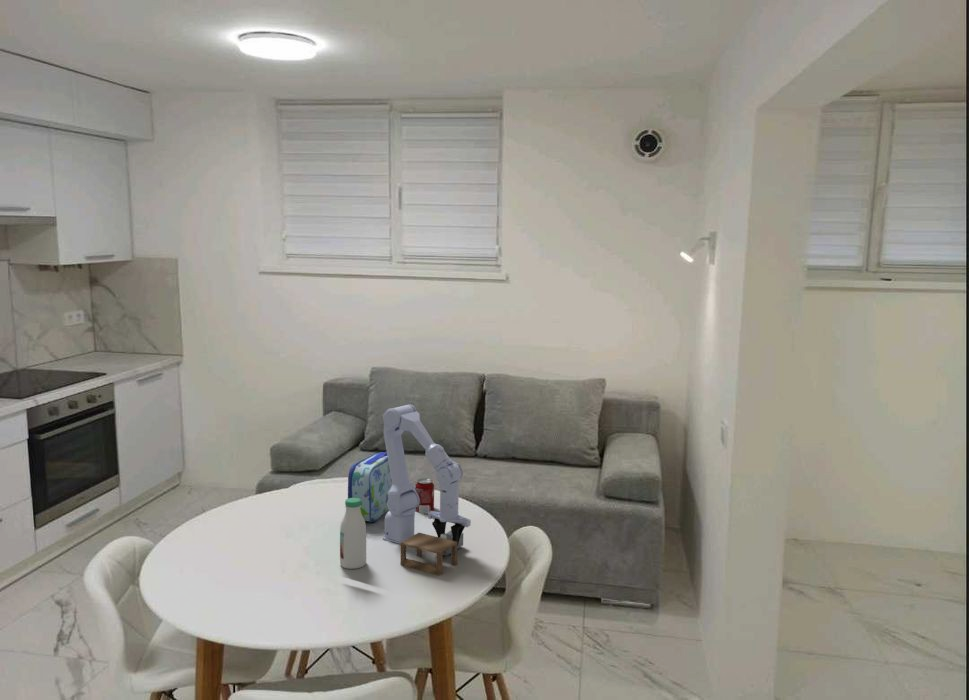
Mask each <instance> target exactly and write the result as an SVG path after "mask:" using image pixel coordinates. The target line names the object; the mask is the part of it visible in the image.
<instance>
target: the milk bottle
mask: <svg viewBox="0 0 969 700" xmlns="http://www.w3.org/2000/svg"><path fill="white" fill-rule="evenodd" d="M344 504H345V513H344V516H343V518H342V520H341V523H340V529H339V531H340V532H339V563H340V566H341V568H344V569H348V570H355V569H359V568H363V567H365V566H366V564H367V527H366V526H367V525H366V521H365V520H364V518H363V516H362V514H361V510H360V507H361V499H359V498H349V499H348V498H347V499H345V502H344Z"/></svg>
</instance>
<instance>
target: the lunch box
mask: <svg viewBox="0 0 969 700" xmlns="http://www.w3.org/2000/svg"><path fill="white" fill-rule="evenodd" d="M347 476H348V477H347V499H349V498H359V499H361V507H360V510H361V514H362V516H363V518H364V520H365V522H369V523H371V522H372V523H373V522H376V521H378V520H379V519H381V518H382V516H384V515H386V514H387V512H388V511H389V509H388V506H387V502H388V492H389V490H390V489H391V487H392V479H391V474H390V468H389V462H388V456H387V451H385V452H384V451H383V452H382V451H381V452H380V451H379V452H376V453H373V454H371V455H369V456H367V457H365V458H363V459H362V460H359V461H357V462H355V463H353V464H352V465H351V466H350V468H349V471H348V475H347Z"/></svg>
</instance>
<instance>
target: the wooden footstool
mask: <svg viewBox="0 0 969 700" xmlns="http://www.w3.org/2000/svg"><path fill="white" fill-rule="evenodd" d="M407 547H410V548H414V549H416V556H417V557H421V556H422V555H423V551H425V552H428V553H433V554H436V556H435V557H436V561H435V563H436V565H432V564H429V563H426V562H421V561H418V560H414V559H411V558H407ZM451 547H452V552H451V566H456V565H458V549H457V542H456V541H452V540H448V539H443V538H439V537H438V536H435V535H430V534H425V533H423V532H417V533H414V535H413V536H412V537H410V538H408V539H406V540H404V541H402V542H401V544H400V566H403V567H404V566H405V567H408V568H412V569H416V570H420V571H422V572H426V573H430V574H433V575H434V574H435V575H437V576H438V577H439V576H441V575H443V555H442V553H443V552H445V551H446V550H448V549H450V548H451Z"/></svg>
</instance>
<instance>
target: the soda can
mask: <svg viewBox="0 0 969 700" xmlns="http://www.w3.org/2000/svg"><path fill="white" fill-rule="evenodd" d="M414 486H415V489H416V492H417V494H418V496H419V505H418V507H416V511H415V513H416V512H417V513H419V514H428V512H430V511H435V484H434V483H433V479H431V478H419V479H417V481H416V483H415V485H414Z"/></svg>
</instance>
